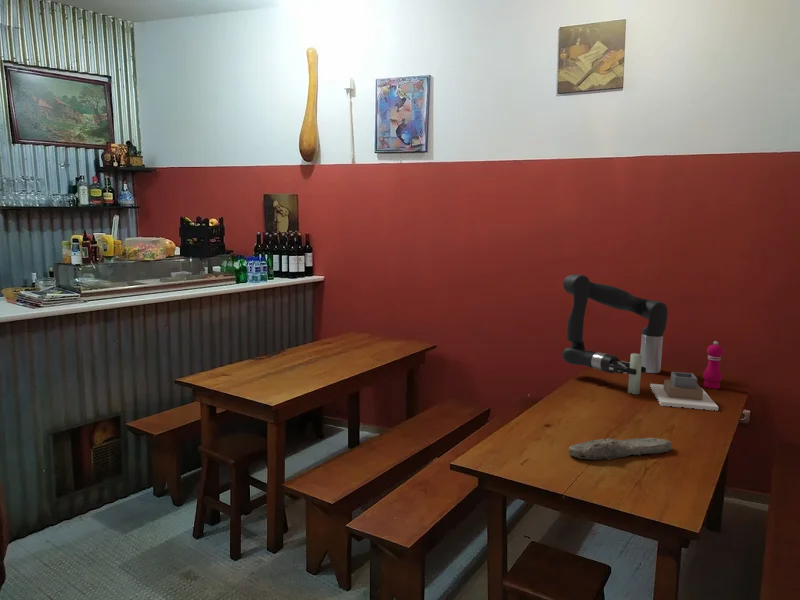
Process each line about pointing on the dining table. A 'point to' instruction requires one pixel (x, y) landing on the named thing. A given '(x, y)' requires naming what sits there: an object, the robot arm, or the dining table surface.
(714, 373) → the pepper mill
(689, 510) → the dining table surface
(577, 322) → the robot arm
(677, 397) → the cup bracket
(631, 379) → the green dowel
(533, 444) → the dining table surface
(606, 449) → the elongated rock
